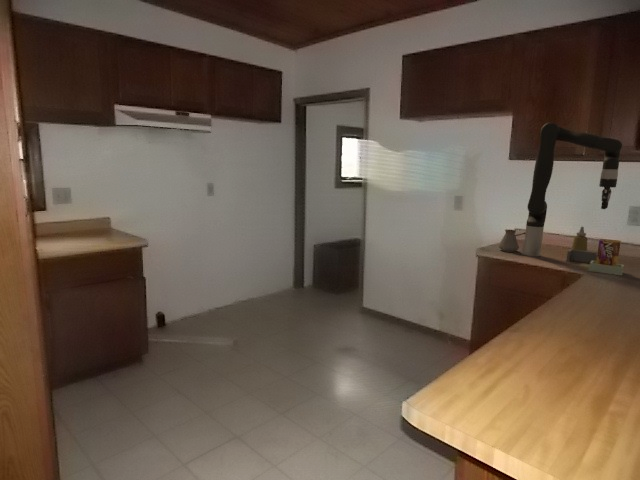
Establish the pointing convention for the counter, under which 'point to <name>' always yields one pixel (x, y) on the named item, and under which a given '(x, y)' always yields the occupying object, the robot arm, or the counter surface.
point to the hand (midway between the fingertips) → (604, 208)
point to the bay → (581, 256)
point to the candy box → (608, 252)
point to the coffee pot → (509, 241)
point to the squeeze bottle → (580, 241)
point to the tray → (606, 268)
